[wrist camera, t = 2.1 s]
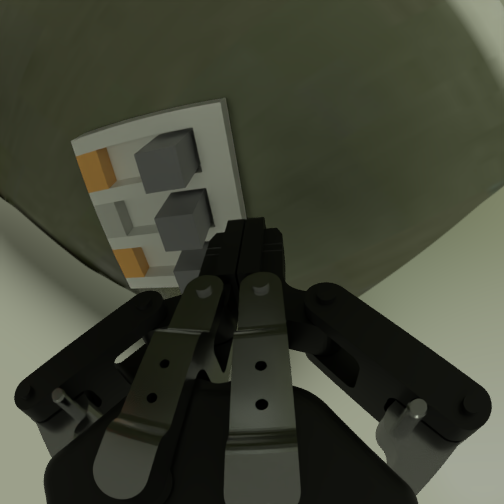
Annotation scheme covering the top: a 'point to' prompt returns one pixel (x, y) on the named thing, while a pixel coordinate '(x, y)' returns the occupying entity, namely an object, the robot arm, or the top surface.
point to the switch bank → (148, 205)
